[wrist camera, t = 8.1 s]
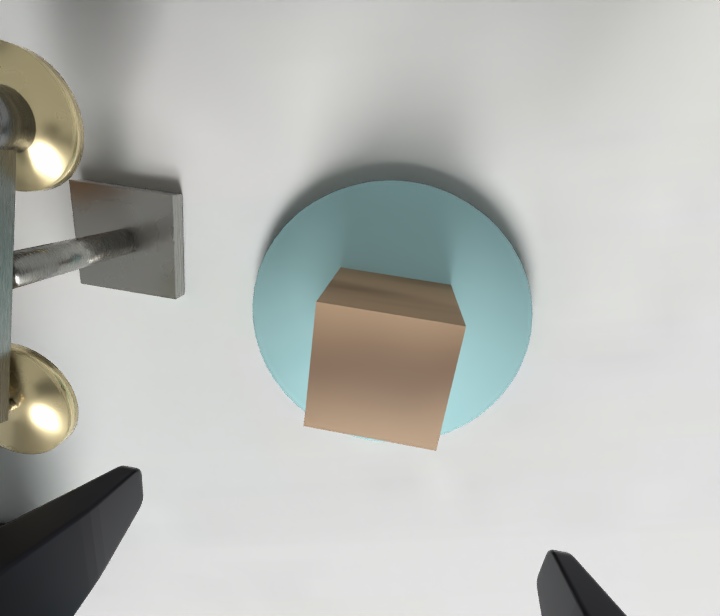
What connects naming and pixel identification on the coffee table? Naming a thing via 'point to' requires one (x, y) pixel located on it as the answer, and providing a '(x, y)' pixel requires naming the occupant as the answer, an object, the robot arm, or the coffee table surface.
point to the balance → (86, 252)
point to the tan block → (383, 357)
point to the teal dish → (404, 259)
